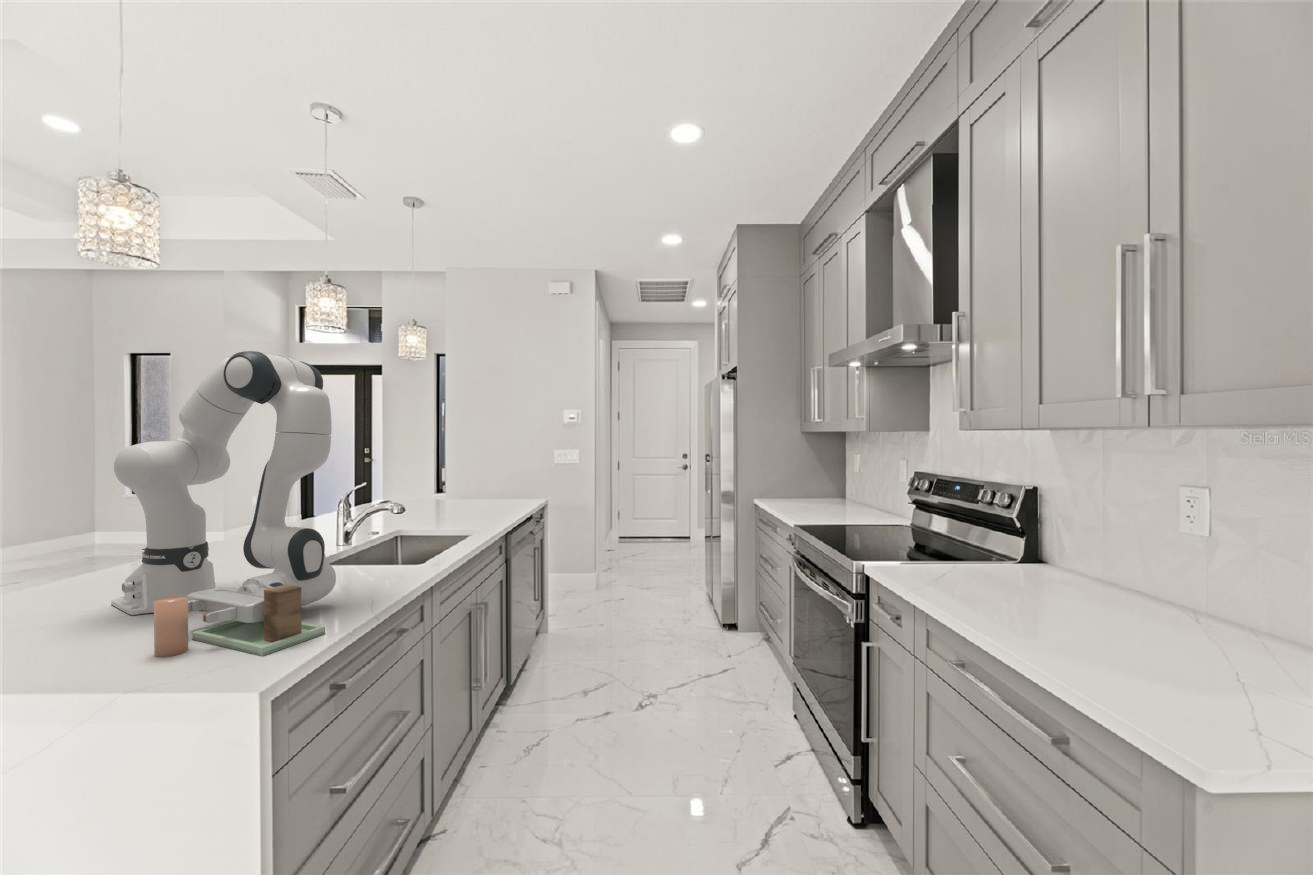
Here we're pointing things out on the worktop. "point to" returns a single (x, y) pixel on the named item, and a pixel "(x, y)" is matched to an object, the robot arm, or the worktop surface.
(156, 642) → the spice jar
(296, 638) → the tray
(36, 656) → the worktop surface
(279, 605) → the walnut block
